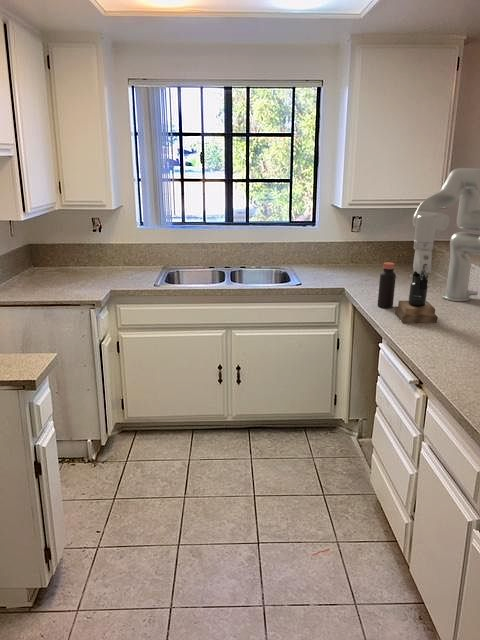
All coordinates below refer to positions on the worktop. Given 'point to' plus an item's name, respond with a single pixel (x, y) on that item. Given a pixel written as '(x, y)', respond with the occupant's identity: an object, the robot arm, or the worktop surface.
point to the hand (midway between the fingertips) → (419, 286)
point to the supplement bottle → (417, 293)
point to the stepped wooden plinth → (415, 313)
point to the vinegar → (387, 286)
